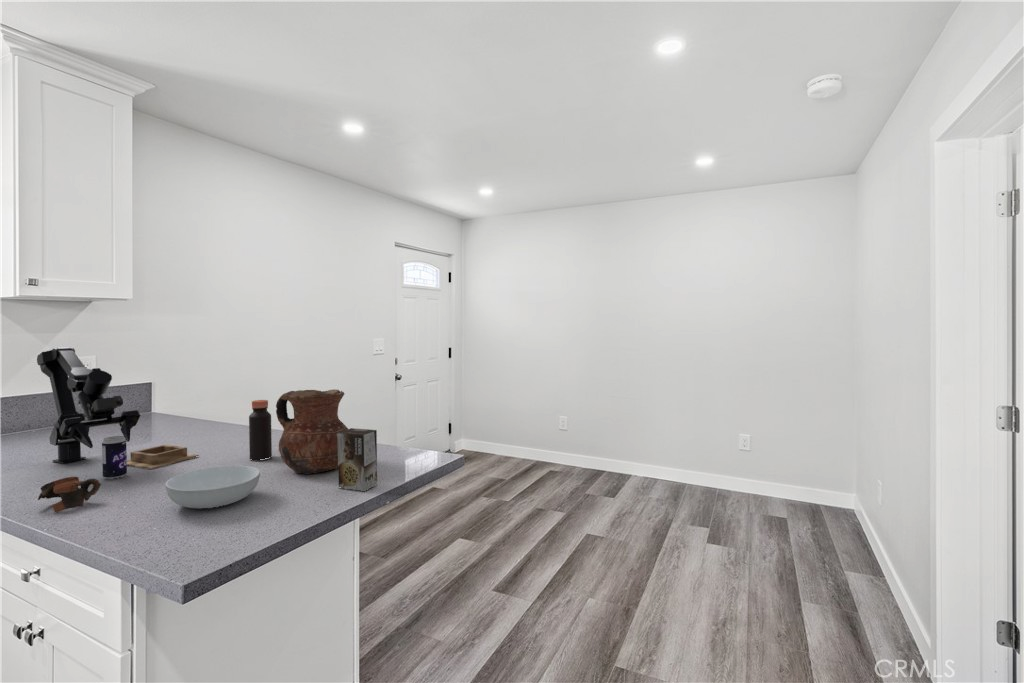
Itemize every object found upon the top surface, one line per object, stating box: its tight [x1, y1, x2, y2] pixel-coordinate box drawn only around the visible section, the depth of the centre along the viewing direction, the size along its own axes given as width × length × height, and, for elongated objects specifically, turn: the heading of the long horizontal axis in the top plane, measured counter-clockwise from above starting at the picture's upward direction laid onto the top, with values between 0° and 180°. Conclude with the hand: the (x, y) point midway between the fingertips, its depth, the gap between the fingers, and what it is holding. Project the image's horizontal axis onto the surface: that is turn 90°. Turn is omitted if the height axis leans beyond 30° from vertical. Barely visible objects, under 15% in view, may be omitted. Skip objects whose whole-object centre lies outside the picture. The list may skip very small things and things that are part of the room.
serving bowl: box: [165, 464, 261, 509], centre depth 126 cm, size 21×21×7 cm
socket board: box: [127, 444, 200, 470], centre depth 164 cm, size 16×16×4 cm
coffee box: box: [337, 427, 378, 492], centre depth 138 cm, size 9×6×16 cm
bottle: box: [248, 399, 273, 461], centre depth 167 cm, size 7×7×20 cm
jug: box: [275, 389, 349, 474], centre depth 156 cm, size 22×21×25 cm
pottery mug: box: [37, 476, 101, 513], centre depth 124 cm, size 12×10×8 cm
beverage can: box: [101, 435, 128, 480], centre depth 146 cm, size 6×6×12 cm
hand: (110, 444), depth 147 cm, fingers open, 9 cm apart
